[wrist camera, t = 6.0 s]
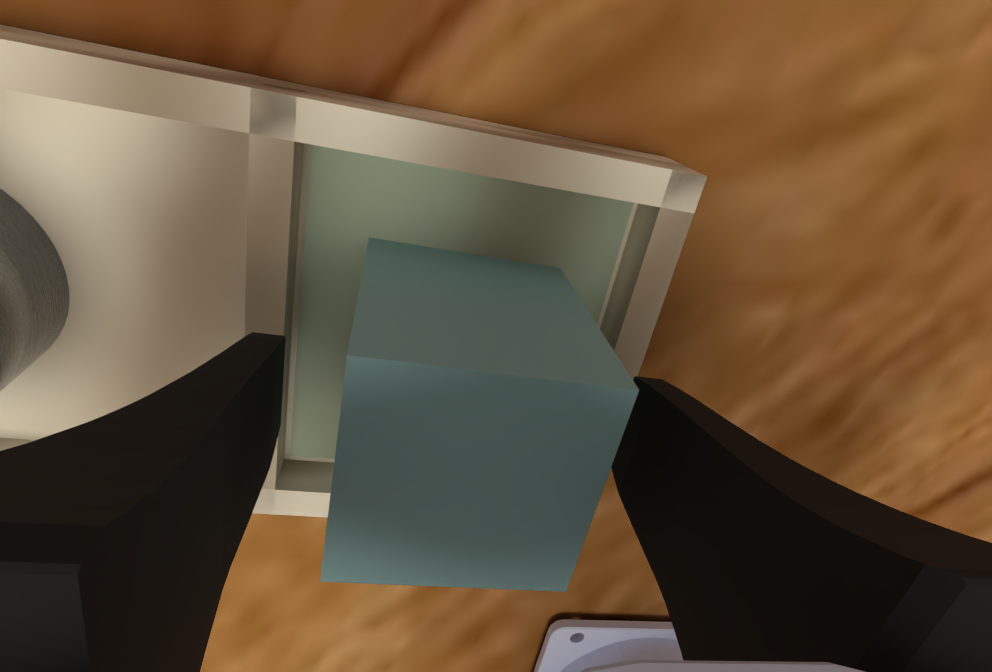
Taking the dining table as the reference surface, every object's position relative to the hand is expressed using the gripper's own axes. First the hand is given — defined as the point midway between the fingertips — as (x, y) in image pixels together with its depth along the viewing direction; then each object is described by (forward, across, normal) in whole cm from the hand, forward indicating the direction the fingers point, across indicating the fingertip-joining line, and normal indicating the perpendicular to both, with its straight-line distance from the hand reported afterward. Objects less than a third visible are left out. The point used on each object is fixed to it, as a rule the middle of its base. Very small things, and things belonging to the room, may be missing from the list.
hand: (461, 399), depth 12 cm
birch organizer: (+4, +6, 0) cm, 7 cm away
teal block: (+3, 0, 0) cm, 3 cm away
